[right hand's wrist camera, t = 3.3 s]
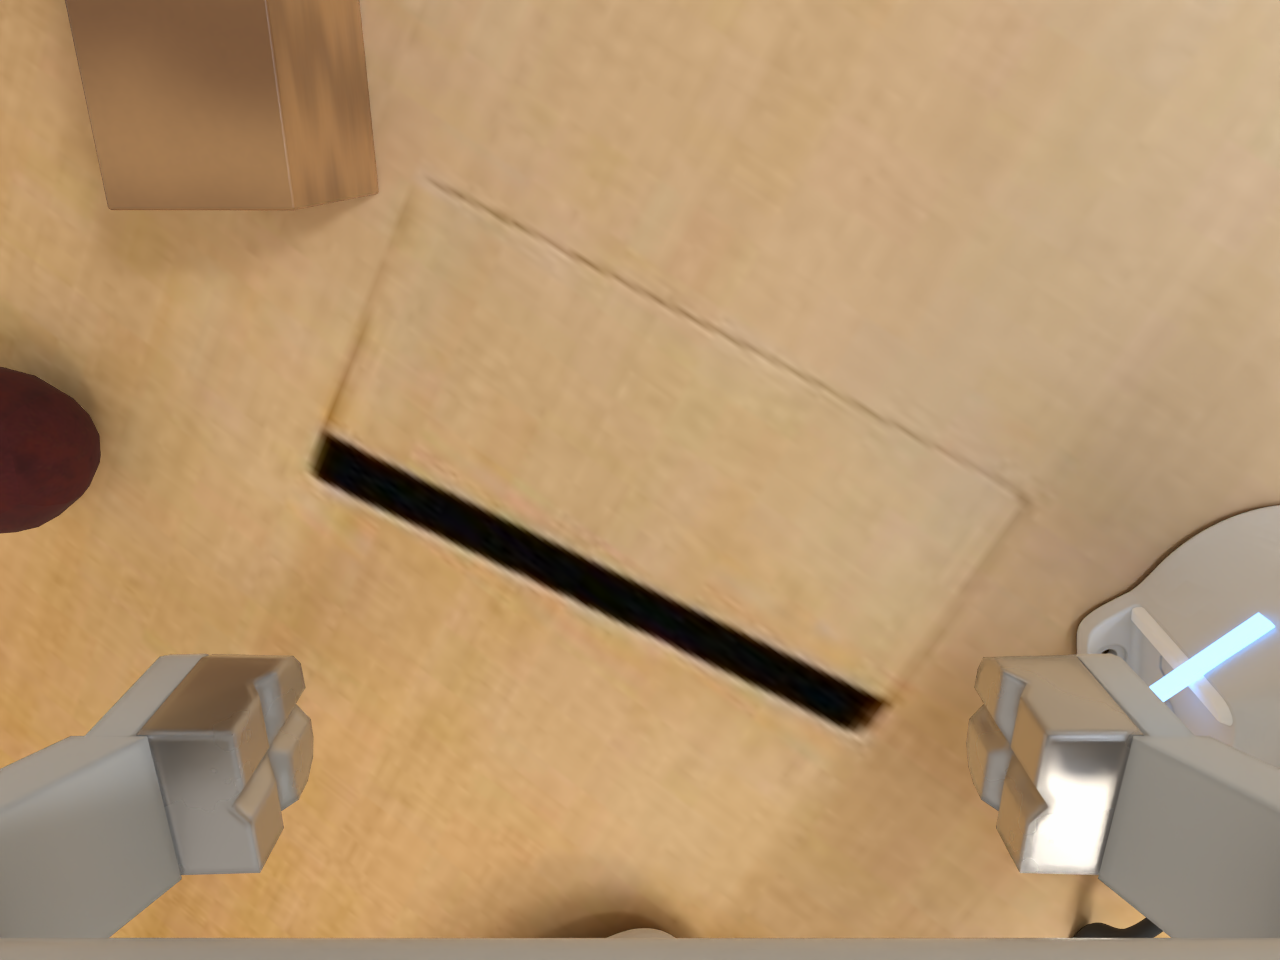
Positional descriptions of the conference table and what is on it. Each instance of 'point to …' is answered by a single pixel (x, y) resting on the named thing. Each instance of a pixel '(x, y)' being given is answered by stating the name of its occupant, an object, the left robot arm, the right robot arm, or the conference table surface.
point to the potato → (41, 451)
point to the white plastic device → (642, 934)
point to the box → (226, 102)
